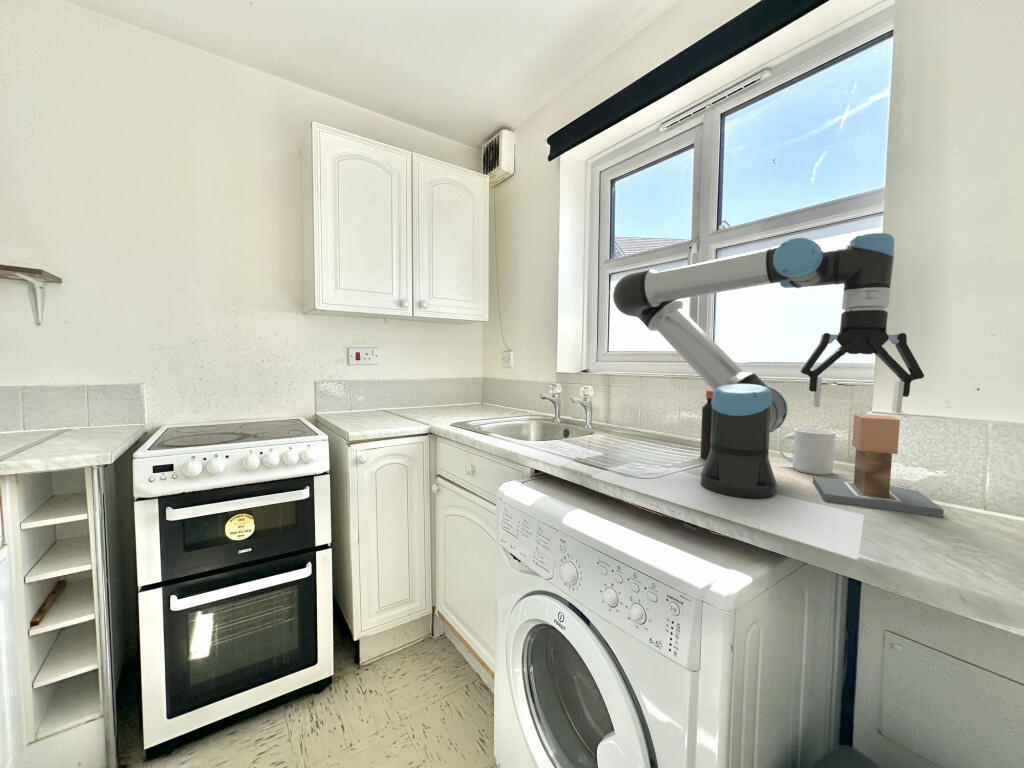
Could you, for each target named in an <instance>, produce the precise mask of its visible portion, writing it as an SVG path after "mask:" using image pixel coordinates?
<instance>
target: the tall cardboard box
mask: <svg viewBox="0 0 1024 768" xmlns="http://www.w3.org/2000/svg"><path fill="white" fill-rule="evenodd" d="M854 457H855V460H854V473H853V481H854V485H855V486H856V487H857V488H858V489H859V491H860V492H861V493H862V494H863V495H868V496H876V497H884V498H889V491H890V486H891V474H892V459H893V454H889V453H878V452H867V451H859V450H858V449H856V448H855V456H854Z"/></svg>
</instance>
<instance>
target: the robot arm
mask: <svg viewBox="0 0 1024 768" xmlns="http://www.w3.org/2000/svg"><path fill="white" fill-rule="evenodd" d="M894 255H895V237H894V236H893V235H892V234H889V233H887V232H886V233H885V232H875V233H866V234H865V233H864V234H862V235H856V236H853V237H851V238H850V239H849V240H848V242H847V245H846V247H844V248H839V249H838V248H837V249H831V250H822V248H821V246H820V245H819V244H818V243H817V242H815V241H813V240H811V239H809V238H807V237H799V236H798V237H792V238H789V239H787V240H785V241H784V242H782V243H781V244H780V245H778V246H777V245H776V246H773V247H769V248H764V249H759V250H755V251H749V252H746V253H741V254H736V255H732V256H727V257H722V258H718V259H712V260H707V261H703V262H700V263H695V264H691V265H690V264H689V265H685V266H680V267H676V268H671V269H667V270H663V271H657V270H655V269H647V270H644V271H643V270H642V271H639V272H634V273H633V272H632V273H630V274H627V275H625V276H623V277H622V278H621V279H619V280H618V282H616V284H615V286H614V290H613V293H612V297H613V303H614V305H615V307H616V309H618V311H620V313H621V314H623V315H626V316H629V317H637V318H638V319H639V320H640V322H642V323H643V324H644V325H645V326H646V327H647V329H648V330H649V331H651V332H652V331H653V332H655V331H657V332H659V334H660V335H661V336H662V337H663V338H664V340H666V342H668V343H669V344H670V346H672V348H673V349H674V350H675V351H676V353H678V354H679V356H680V357H682V359H683V360H685V362H686V363H687V364H688V365H689V366H690V367H691V368H692V369H693V370H694V371H695V373H696V374H697V375H699V377H700V378H701V379H702V381H704V382H705V384H706V385H708V387H709V388H710V390H713V397H712V400H711V406H712V415H711V445H710V453H709V456H708V458H707V459H705V464H704V465H703V468H702V471H701V473H700V485H702V486H703V487H704V488H705V489H708V490H710V491H713V492H716V493H719V494H723V495H727V496H733V497H737V498H738V497H739V498H749V499H765V498H766V499H767V498H770V497H774V496H775V495H776V494H777V481H776V477H775V473H774V472H773V469H772V465H771V461H770V459H769V451H770V450H769V449H770V433H773V432H775V431H776V430H777V429H779V428H780V427H781V426H782V425H783V424H784V422H785V420H786V419H787V416H788V409H789V408H788V404H787V401H786V398H785V397H784V396H783V394H781V392H780V391H778V390H776V389H775V388H772V387H771V386H768V385H767V384H766V383H765V382H764V381H763V380H762V379H761V378H760V377H759V376H758V375H757V374H756V373H754V372H746V371H744V370H743V369H741V367H740V366H739V364H737V363H736V362H735V361H734V360H733V359H732V358H731V357H730V356H729V355H728V354H727V353H726V352H725V351H724V350H723V349H722V348H720V346H719V345H718V344H717V343H716V342H715V341H714V340H713V339H712V338H711V337H710V336H709V335H708V333H706V332H705V331H704V330H703V329H702V328H701V327H700V326H699V325H698V324H697V323H696V322H695V321H694V320H693V319H692V318H691V317H690V316H689V315H688V314H687V313H686V312H685V311H684V310H683V305H684V304H683V303H684V302H683V300H681V299H687V298H692V297H699V296H703V295H710V294H715V293H716V294H717V293H722V292H727V291H734V290H740V289H745V288H746V289H747V288H751V287H757V286H764V285H769V284H776V283H779V284H780V286H781V287H782V288H785V289H793V288H796V289H800V288H806V287H807V288H808V287H819V286H828V285H829V286H830V285H843V294H842V303H841V304H842V305H841V309H842V310H844V311H842V313H841V315H840V325H839V326H840V329H839V332H838V334H832V333H829V332H825V333H822V334H821V337H820V340H819V341H820V342H819V343H818V345H817V346H816V348H815V350H813V352H812V353H811V355H810V356H809V358H808V359H807V360H806V362H805V363H804V365H803V366H802V368H801V369H800V373H801V374H803V375H806V376H808V377H809V385H808V390H809V391H810V392H814V394H813V407H815V408H820V405H821V404H820V403H821V392H822V382H823V381H822V380H823V378H822V377H819V376H820V375H821V374H822V373H823V372H825V371H826V370H827V369H828V368H829V367H830V366H832V365H833V364H834V363H836V362H837V360H839V359H840V358H841V357H842V356H845V354H846V353H848V354H849V355H858V354H860V355H861V354H862V355H872V354H874V355H875V356H876V357H878V358H879V359H880V360H881V361H882V362H883V363H884V364H885V365H886V367H888V368H889V369H890V370H891V372H893V373H894V374H895V376H897V377H898V379H899V380H894V388H893V397H892V404H891V405H892V406H891V412H893V413H895V414H901V413H902V406H903V405H902V404H903V397H904V398H905V397H906V398H908V397H909V396H910V391H911V383H912V381H916V380H921V379H924V377H925V374H924V371H922V369H921V367H920V364H919V363H918V362H917V360H916V358H915V356H914V354H913V353H912V350H911V349H910V347H909V345H908V340H907V339H908V338H907V333H905V332H900V333H896V334H888V333H887V326H888V325H887V324H888V316H889V315H888V313H889V312H888V311H887V310H886V309H888V307H889V303H890V292H891V285H892V277H893V266H894V258H895V256H894ZM835 340H836V341H837V343H838V344H839V345H840V346H839V348H837V349H836V350H835V351H834V352H833V353H832V354H831V355H830V356H828V357H827V358H826V359H825V360H823V361H822V362H821V363H820V364H819V365H818V366H816V367H815V368H814V369H813V370H811V369H812V368H813V367H814V366H815V364H816V362H817V361H818V360H819V358H820V357H821V355H822V354H823V353H824V351H825V350H826V348H827V347H828V344H832V343H833V342H834V341H835ZM888 341H889V342H890V343H891V345H894V346H895V348H896V350H897V352H898V354H899V355H900V358H901V359H902V362H904V365H905V366H906V368H907V371H906V370H905V369H904V367H902V366H901V365H900V363H898V362H897V361H896V359H894V358H893V357H892V356H891V355H890V354H889V352H888V351H887V350H886V349H885V348H884V347H883V345H884V344H886V343H887V342H888ZM908 372H909V373H908Z"/></svg>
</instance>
